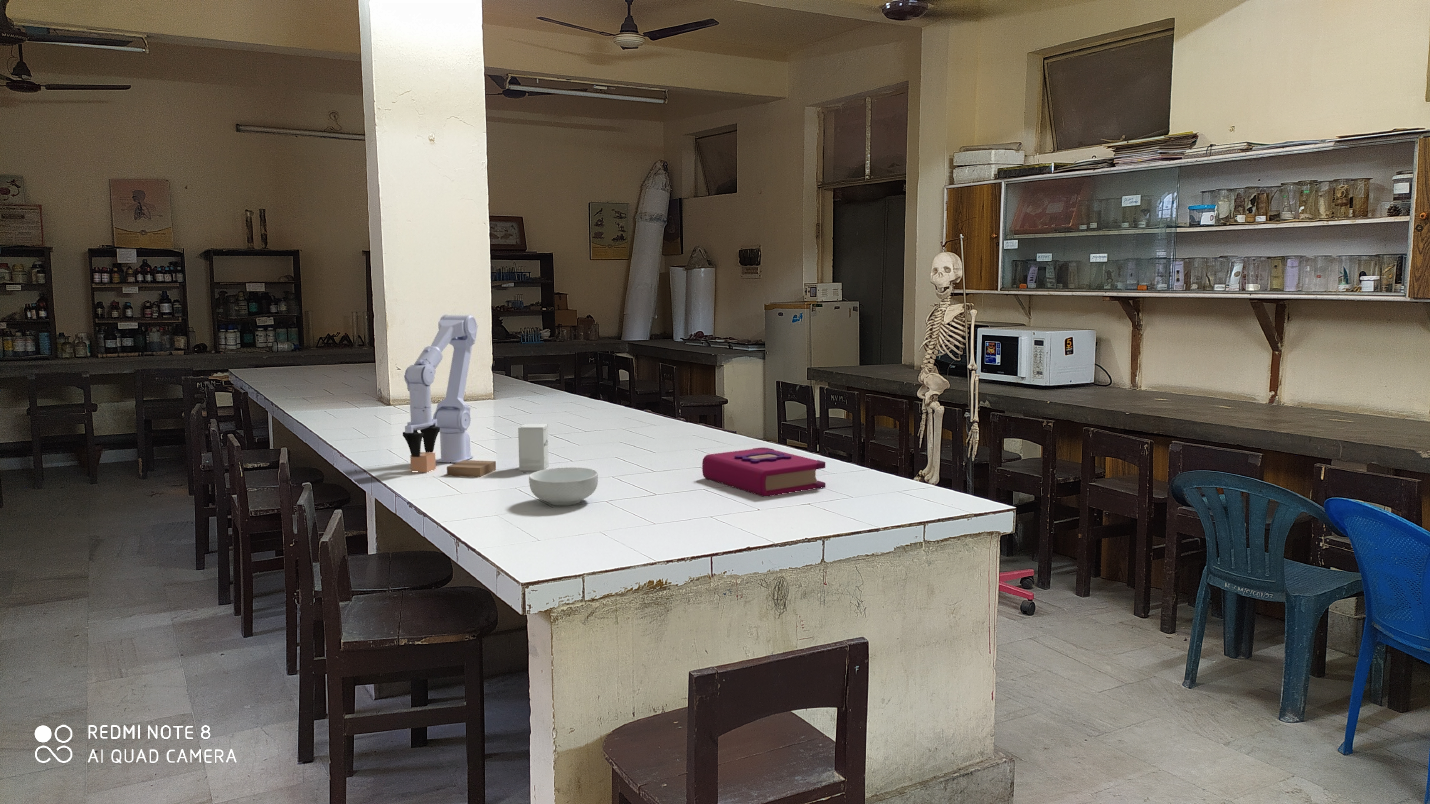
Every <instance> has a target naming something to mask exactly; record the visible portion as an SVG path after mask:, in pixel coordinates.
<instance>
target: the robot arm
mask: <svg viewBox="0 0 1430 804" xmlns="http://www.w3.org/2000/svg"><path fill="white" fill-rule="evenodd" d="M477 332H478V323H477V321H476V318H475V317H474V316H473V315H472V314H466V315H460V314H459V315H458V314H457V315H456V314H455V315H453V314H451V315H450V314H443V315H442V316H441V317H440V319H439V321H438V331H437V333H436V335H435V336H434V339H433V341H432V342H431V344H430V346H429V345H428V346H426V347H424V348H423V350H422V351H421V353H420V355H419V356H418V358H416V361H415V363H413V364H411V365H409V366H407V368H405V372H404V375H403V377H404V378H403V379H404V381H405V383H406V387H407V388H406V389H407V391H408V392H409V411H410V413H409V414H410V415H409V416H410V421H409V422H407V423H406V424H407V425H404V431H402V436H403V438H404V439H405V441H406V443H407V446H408V448H409V451H410V455H412V457H420V452H421V451H422V450H421V449H422V448H421V447H422V440H423V447H424V451H425V452H429V453H434V449H435V445H436V440H437V437H438V435H439V439H440V440H439V442H440V443H439V444H440V445H439V446H440V447H439V448H440V458H438V459H435V461H436V463H450V462H451V463H453V464H455V463H457V462H460V461H462V460H470V459H472V458H474V455H471V436H470V434H469V432H468V428H469V427H470V426H471V419H472V418H471V407H470V406H469V404H468V403H467V402H465V400H464V397H465V392H466V391H465V390H466V385H467V381H468V375H469V374H468V373H469V367H470V363H471V355H472V350H473V345H475V344H476V339H477ZM448 345H451V346H452V347H453V352H452V358H451V364H450V371H449V375H448V376H449V377H448V381H447V382H448V383H447V388H446V394H445V398H443V399H442V400H441V401H440V402H438V403H437V405H436V409H435V412H434V413H433V414H432V400H431V399H432V398H431V396H432V394H431V393H432V391H431V385H432V384H433V383H434V380H435V374H436V369H437V367H438V366H439V364H440V363H441V362H442V360H443V354H442V353H443V351H444V350H445V349H446V348H447V346H448ZM432 415H433V416H432ZM419 431H420V432H419Z"/></svg>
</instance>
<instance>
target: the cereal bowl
mask: <svg viewBox="0 0 1430 804" xmlns="http://www.w3.org/2000/svg"><path fill="white" fill-rule="evenodd" d="M528 483H529V489H530V491H531V493H532V494H533V496H535V497H536V498H537V499H538V500H539V499H540V500H542V501H545V502H547V504H550V505H551V506H552V505H553V506H572V505H577V504H579V503H581V502H582V500H584V499H586V498H587V499H588V497H590V496H592V495H593V494H594V493H595V491H596V489H597V487H598V483H599V474H598V471H596V470H595V469H592V468H586V467H573V466H571V467H567V466H566V467H556V468H546V469H545V470H540V471H533V472H531V473H530V474H529V476H528Z"/></svg>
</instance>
